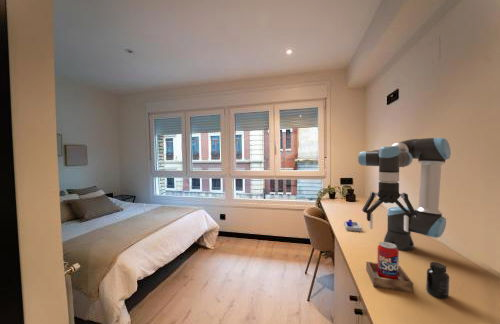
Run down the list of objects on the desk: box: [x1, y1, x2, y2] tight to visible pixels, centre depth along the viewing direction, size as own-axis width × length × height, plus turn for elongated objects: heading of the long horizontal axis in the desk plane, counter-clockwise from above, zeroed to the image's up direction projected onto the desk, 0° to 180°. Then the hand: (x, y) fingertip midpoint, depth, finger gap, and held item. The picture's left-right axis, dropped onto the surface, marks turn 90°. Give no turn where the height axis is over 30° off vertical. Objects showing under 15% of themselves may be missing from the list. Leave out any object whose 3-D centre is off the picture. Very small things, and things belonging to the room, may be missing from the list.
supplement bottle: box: [425, 261, 450, 300], centre depth 85 cm, size 7×7×12 cm
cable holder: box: [347, 219, 353, 227], centre depth 163 cm, size 8×4×4 cm, turn 145°
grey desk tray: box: [343, 220, 363, 233], centre depth 161 cm, size 10×14×3 cm
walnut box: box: [365, 261, 414, 294], centre depth 95 cm, size 14×14×4 cm
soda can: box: [376, 241, 400, 280], centre depth 95 cm, size 8×8×15 cm
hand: (387, 229), depth 95 cm, fingers open, 13 cm apart
